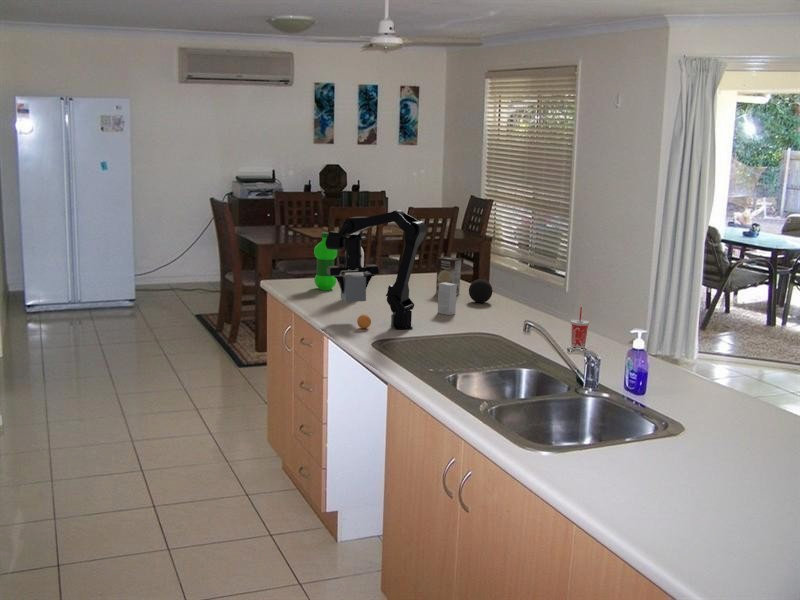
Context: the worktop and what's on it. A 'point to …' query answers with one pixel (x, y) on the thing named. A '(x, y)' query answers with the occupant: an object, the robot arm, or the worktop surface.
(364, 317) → the ball
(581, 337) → the beverage cup
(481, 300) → the speaker
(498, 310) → the worktop surface
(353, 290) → the grey block
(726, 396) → the worktop surface
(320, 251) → the plastic bottle
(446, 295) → the skincare box
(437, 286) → the coffee box
